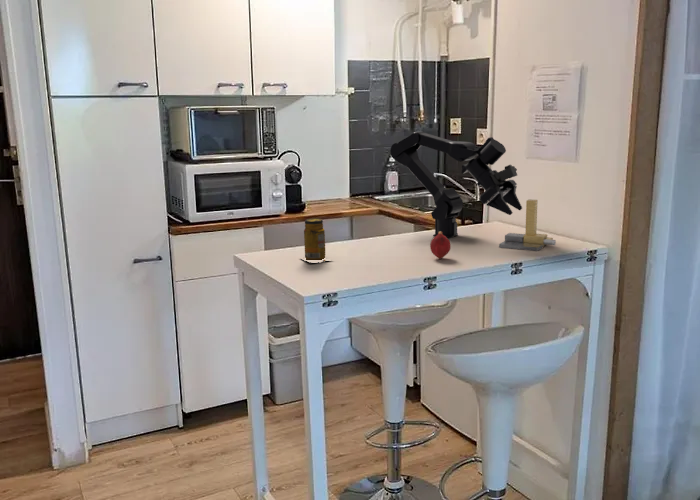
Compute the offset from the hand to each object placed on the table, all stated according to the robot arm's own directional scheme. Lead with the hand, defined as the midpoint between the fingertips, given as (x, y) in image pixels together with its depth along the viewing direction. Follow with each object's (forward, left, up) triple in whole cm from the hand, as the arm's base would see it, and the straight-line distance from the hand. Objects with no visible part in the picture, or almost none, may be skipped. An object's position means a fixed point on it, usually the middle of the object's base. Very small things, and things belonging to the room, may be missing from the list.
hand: (516, 211), depth 205 cm
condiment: (-45, -45, -10) cm, 64 cm away
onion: (-13, -28, -10) cm, 33 cm away
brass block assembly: (+3, +3, -10) cm, 11 cm away
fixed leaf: (+5, -3, -10) cm, 11 cm away
